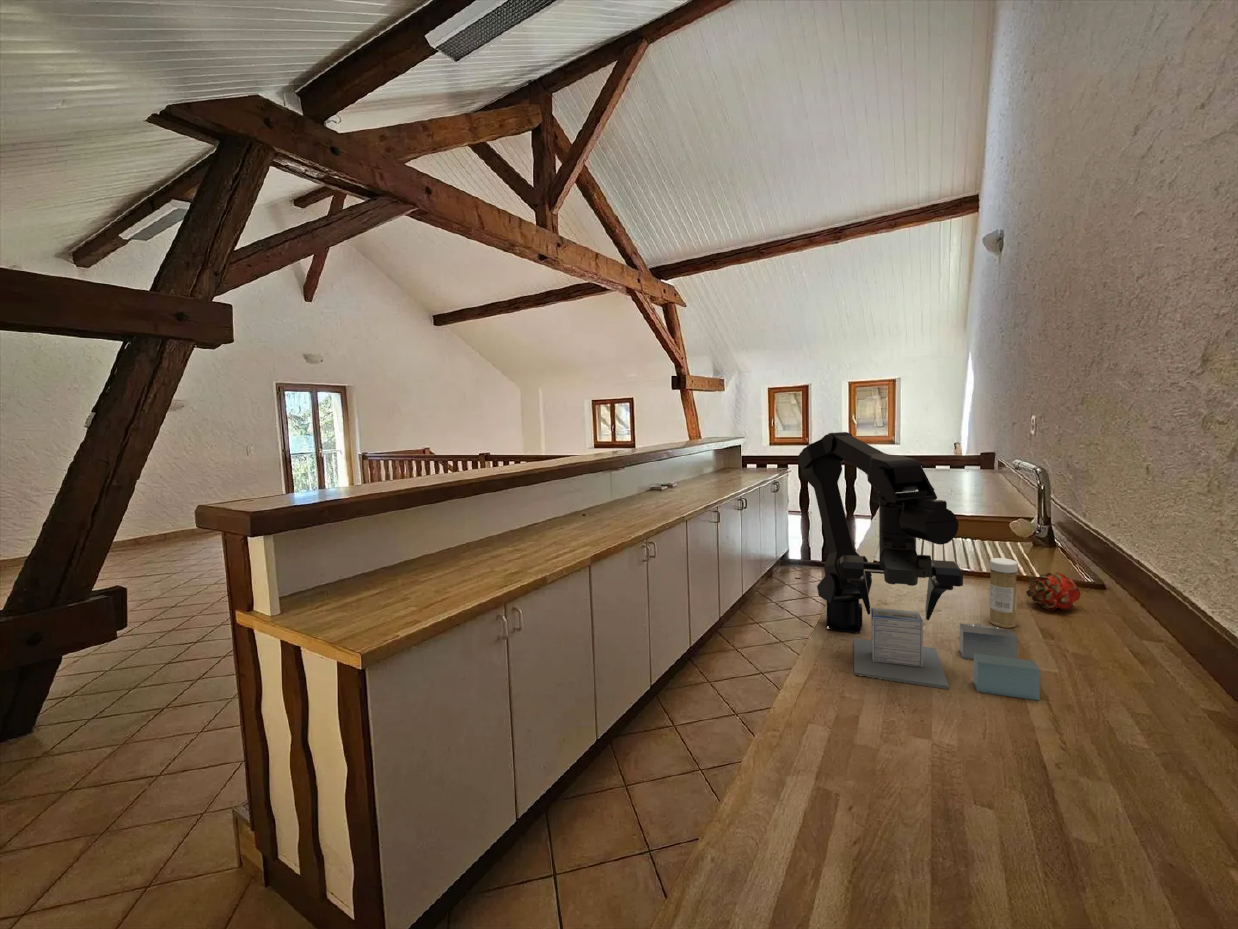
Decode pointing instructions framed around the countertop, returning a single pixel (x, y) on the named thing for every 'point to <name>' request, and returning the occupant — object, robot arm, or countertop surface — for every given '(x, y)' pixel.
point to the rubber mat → (900, 667)
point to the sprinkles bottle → (1003, 592)
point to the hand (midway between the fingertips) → (897, 616)
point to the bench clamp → (998, 662)
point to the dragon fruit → (1053, 591)
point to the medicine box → (897, 637)
